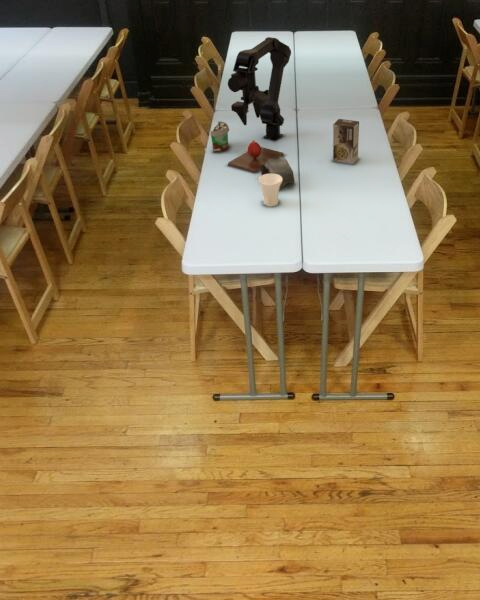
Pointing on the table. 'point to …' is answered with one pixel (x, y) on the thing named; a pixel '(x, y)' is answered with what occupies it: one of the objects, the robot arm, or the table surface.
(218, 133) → the food container
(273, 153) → the cutting board
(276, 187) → the cup
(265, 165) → the rock
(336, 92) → the table surface
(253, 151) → the red fruit
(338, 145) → the coffee box
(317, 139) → the table surface
